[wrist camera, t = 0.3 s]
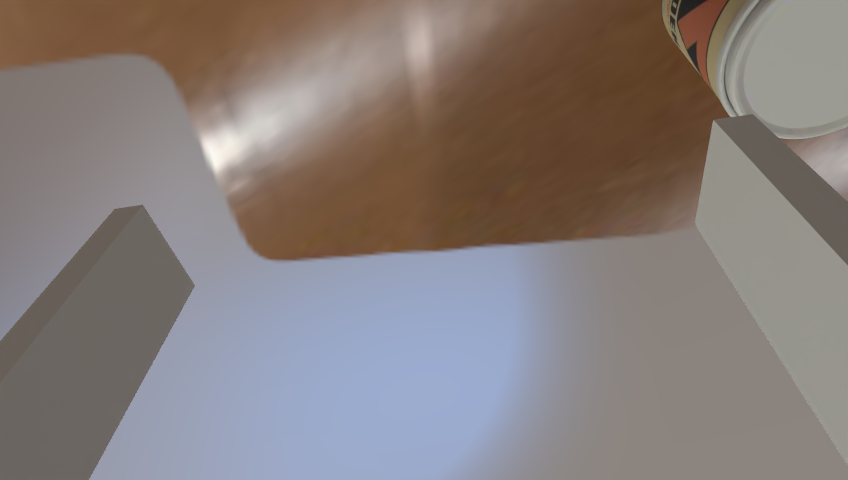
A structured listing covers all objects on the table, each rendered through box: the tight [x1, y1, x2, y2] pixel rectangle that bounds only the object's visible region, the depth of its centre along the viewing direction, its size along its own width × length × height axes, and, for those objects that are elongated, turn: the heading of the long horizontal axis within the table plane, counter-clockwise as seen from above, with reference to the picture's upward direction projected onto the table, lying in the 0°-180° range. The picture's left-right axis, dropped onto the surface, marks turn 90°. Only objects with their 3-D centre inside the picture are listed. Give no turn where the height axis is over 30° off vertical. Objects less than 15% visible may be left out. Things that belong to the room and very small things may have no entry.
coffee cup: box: [662, 0, 848, 139], centre depth 28 cm, size 9×9×12 cm
